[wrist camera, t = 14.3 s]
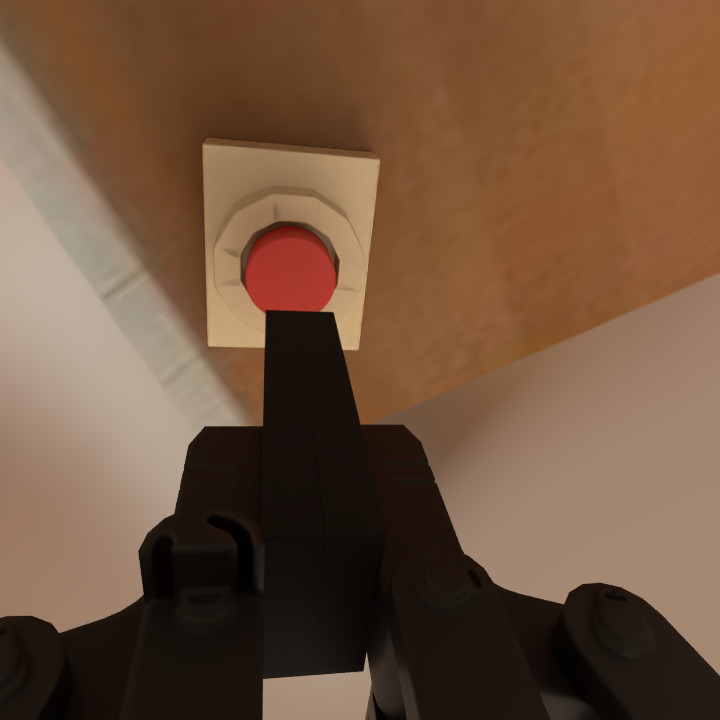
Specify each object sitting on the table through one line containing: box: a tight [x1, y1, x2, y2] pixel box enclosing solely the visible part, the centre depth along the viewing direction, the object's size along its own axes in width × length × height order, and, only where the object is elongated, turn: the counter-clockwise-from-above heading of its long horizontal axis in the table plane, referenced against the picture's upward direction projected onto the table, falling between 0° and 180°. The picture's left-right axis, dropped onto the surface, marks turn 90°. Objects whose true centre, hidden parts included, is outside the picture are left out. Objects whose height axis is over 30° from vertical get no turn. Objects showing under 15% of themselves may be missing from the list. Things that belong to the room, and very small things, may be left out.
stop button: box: [245, 226, 336, 314], centre depth 25 cm, size 4×4×2 cm
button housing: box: [202, 138, 380, 350], centre depth 27 cm, size 10×8×4 cm
